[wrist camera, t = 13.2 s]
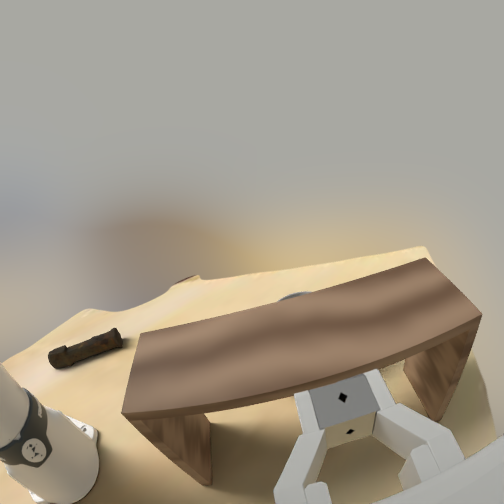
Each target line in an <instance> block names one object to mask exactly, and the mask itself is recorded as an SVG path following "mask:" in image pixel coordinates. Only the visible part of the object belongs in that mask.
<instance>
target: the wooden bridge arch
mask: <svg viewBox="0 0 504 504" xmlns="http://www.w3.org/2000/svg"><path fill="white" fill-rule="evenodd" d="M481 317H482V313H481V312H480V311H479V310H478V309H477V308H476V306H475V305H474V304H473V303H472V302H471V301H470V300H469V299H468V298H467V297H466V296H465V295H464V294H463V293H462V292H461V291H460V290H459V289H458V288H457V287H456V286H455V285H454V284H453V283H452V282H451V281H450V280H449V279H448V278H447V277H446V276H444V275H443V274H442V273H441V272H440V271H439V270H438V269H437V268H436V267H435V266H434V265H433V264H432V263H431V262H430V261H429V260H428V259H426V258H422V259H419V260H416V261H413V262H410V263H407V264H404V265H401V266H398V267H395V268H392V269H389V270H385V271H382V272H379V273H376V274H373V275H369V276H366V277H363V278H360V279H356V280H353V281H350V282H346V283H343V284H340V285H336V286H333V287H329V288H326V289H322V290H319V291H315V292H312V293H308V294H304V295H301V296H297V297H293V298H290V299H286V300H282V301H278V302H275V303H271V304H267V305H263V306H259V307H255V308H251V309H247V310H243V311H239V312H235V313H231V314H227V315H223V316H218V317H214V318H210V319H205V320H201V321H197V322H192V323H188V324H183V325H178V326H174V327H169V328H164V329H159V330H155V331H150V332H145V333H141V334H140V337H139V341H138V345H137V349H136V352H135V356H134V360H133V364H132V368H131V372H130V376H129V381H128V385H127V389H126V393H125V398H124V402H123V407H122V412H121V414H122V415H123V416H124V417H125V418H126V419H127V420H128V421H129V422H130V423H131V424H132V425H133V426H134V427H135V428H136V429H137V430H138V431H139V432H140V433H141V434H142V435H143V436H145V437H146V438H147V439H148V440H149V441H150V442H151V443H152V444H153V445H154V446H155V447H156V448H158V449H159V450H160V451H161V452H162V453H163V454H164V455H165V456H167V457H168V458H169V459H170V460H171V461H172V462H174V463H175V464H176V465H177V466H178V467H180V468H181V469H182V470H183V471H185V472H186V473H187V474H188V475H190V476H191V477H192V478H193V479H195V480H196V481H197V482H199V483H200V484H201V485H212V477H211V442H210V422H209V420H208V419H207V417H206V416H205V415H204V413H210V412H216V411H222V410H228V409H234V408H239V407H244V406H249V405H254V404H259V403H264V402H268V401H273V400H277V399H281V398H285V397H290V396H293V395H294V394H295V393H299V392H303V391H306V390H311V389H315V388H318V387H322V386H325V385H329V384H332V383H336V382H338V381H341V380H344V379H347V378H350V377H353V376H356V375H359V374H361V373H365V372H368V371H371V370H374V369H377V370H378V369H380V368H383V367H386V366H388V365H391V364H394V363H396V362H399V361H401V360H404V359H405V364H404V372H405V374H406V376H407V377H408V379H409V381H410V383H411V385H412V386H413V388H414V390H415V392H416V394H417V395H418V397H419V399H420V401H421V403H422V405H423V406H424V408H425V410H426V412H427V414H428V416H429V418H430V419H431V420H432V421H434V422H438V421H440V420H441V418H442V416H443V414H444V412H445V410H446V408H447V406H448V404H449V402H450V400H451V398H452V395H453V393H454V391H455V389H456V386H457V384H458V382H459V379H460V377H461V374H462V372H463V369H464V367H465V364H466V362H467V359H468V356H469V354H470V351H471V348H472V345H473V342H474V339H475V336H476V333H477V330H478V327H479V324H480V320H481Z"/></svg>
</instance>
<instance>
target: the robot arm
mask: <svg viewBox="0 0 504 504" xmlns="http://www.w3.org/2000/svg"><path fill="white" fill-rule="evenodd" d="M294 398H295V402H296V406H297V411H298V415H299V419H300V423H301V427H302V431H303V434H302V435H299V437H298V439H297V441H296V444H295V446H294V448H293V450H292V452H291V455H290V457H289V459H288V461H287V463H286V465H285V468H284V470H283V472H282V474H281V476H280V478H279V480H278V482H277V484H276V486H275V488H274V490H273V492H274V499H275V504H332V502H331V498H330V494H329V491H328V487H327V483H324V482H321V481H320V482H317V483H316V480H317V478H318V475H319V472H320V470H321V467H322V464H323V461H324V458H325V456H326V453H327V449H330V448H333V447H336V446H339V445H342V444H345V443H348V442H351V441H355V440H358V439H361V438H364V437H367V436H370V435H372V436H373V437H374V438H376V439H377V440H379V441H380V442H381V443H383V444H384V445H385V446H387V447H388V448H390V449H391V450H392V451H394V452H395V453H397V454H398V455H399V456H401V457H402V458H404V459H405V460H406V462H405V464H404V465H403V467H402V469H401V471H400V472H399V474H398V477H399V480H400V483H401V486H402V488H403V491H402V492H399V493H397V494H395V495H392V496H390V497H387V498H384V499H382V500H379V501H376V502H373V503H371V504H504V434H503V435H502V436H500V437H499V438H497V439H496V440H495V441H493V442H492V443H490V444H489V445H487V446H486V447H484V448H483V449H481V450H480V451H478V452H476V453H475V454H473V455H472V456H470V457H468V458H467V459H465V457H464V455H463V453H462V451H461V449H460V447H459V445H458V443H457V441H456V439H455V437H454V436H453V434H452V432H451V430H450V429H448V428H446V427H444V426H442V425H440V424H438V423H436V422H434V421H432V420H431V419H429V418H427V417H425V416H423V415H421V414H419V413H417V412H416V411H414V410H412V409H410V408H408V407H406V406H405V405H403V404H401V403H398V404H396V403H395V401H394V399H393V397H392V395H391V393H390V391H389V389H388V387H387V385H386V383H385V381H384V379H383V377H382V375H381V374H380V372H379V370H377V369H374V370H371V371H368V372H365V373H361V374H359V375H356V376H353V377H350V378H347V379H344V380H341V381H338V382H336V383H332V384H329V385H325V386H322V387H318V388H315V389H311V390H306V391H303V392H299V393H295V394H294ZM97 436H98V432H97V430H96V429H95V428H94V427H92V426H90V425H87V424H85V423H83V422H80V421H78V420H76V419H73V418H71V417H69V416H67V415H65V414H63V413H62V412H61V411H59V410H58V411H56V410H54V409H52V408H50V407H47V406H44V405H42V404H41V403H40V402H39V401H38V399H37V398H36V397H35V396H34V395H33V394H31V393H30V392H29V391H28V390H26V389H25V388H22V387H21V386H20V385H19V384H18V383H17V382H16V381H15V379H14V378H13V377H12V376H11V375H10V373H9V372H8V371H7V370H6V369H5V367H4V366H3V365H2V364H1V363H0V460H1V461H2V462H4V464H5V468H6V470H7V473H8V475H9V476H10V477H12V478H13V479H14V480H16V481H17V482H18V483H20V484H21V485H22V486H24V487H25V488H27V489H28V490H29V492H30V494H31V496H32V498H33V500H34V501H35V502H36V503H38V504H49V503H56V504H71V503H74V502H77V501H79V500H80V499H82V498H83V497H84V496H85V495H86V494H87V493H88V492H89V491H90V490H91V488H92V487H93V485H94V483H95V481H96V478H97V475H98V470H99V457H98V452H97V448H96V442H97Z"/></svg>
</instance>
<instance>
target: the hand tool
mask: <svg viewBox="0 0 504 504" xmlns="http://www.w3.org/2000/svg"><path fill="white" fill-rule="evenodd" d="M122 344H123V343H122V338H121V335H120V333H119V332H118V330H117V329H116V328H113V329H111V331H109V332H107V333H104V334H100V335H99V336H94V337H92V338H91V339H89V340H86V341H84V342H82V343H79V344H76V345H73V346H71V347H68V348H67V347H66V346H65V345H64V346H62V347H59V348H57V349H54V350H52V351H50V352H49V354H48V359H49V362H50V364H51V365H52V366H53V367H54V368H63V367H68V366H72V365H73V364H74V362H76V361H79V360H82V359H84V358H87V357H89V356H92V355H95V354H98V353H101V352H104V351H106V350H109V349H112V348H114V347H117V346H118V347H120V348H122Z"/></svg>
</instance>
